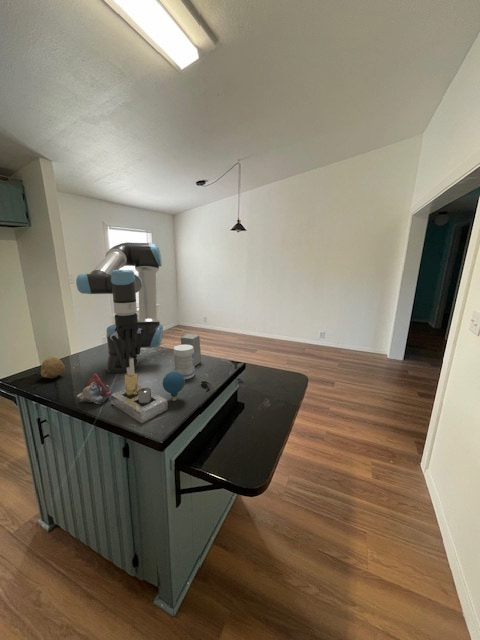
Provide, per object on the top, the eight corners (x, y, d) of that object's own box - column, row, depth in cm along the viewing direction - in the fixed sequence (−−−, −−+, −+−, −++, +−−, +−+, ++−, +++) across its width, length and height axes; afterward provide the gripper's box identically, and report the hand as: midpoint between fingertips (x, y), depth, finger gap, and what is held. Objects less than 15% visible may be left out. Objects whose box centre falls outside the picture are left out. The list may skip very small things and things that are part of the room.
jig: (111, 403, 98) (109, 385, 96) (137, 393, 107) (135, 375, 105) (142, 423, 87) (140, 402, 85) (167, 409, 95) (166, 389, 94)
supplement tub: (197, 377, 122) (197, 348, 119) (178, 382, 117) (177, 352, 114) (189, 370, 130) (189, 343, 127) (171, 374, 125) (170, 346, 122)
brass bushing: (124, 403, 99) (122, 375, 96) (135, 399, 102) (133, 371, 99) (131, 407, 96) (128, 378, 93) (141, 402, 100) (139, 374, 97)
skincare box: (201, 362, 140) (201, 335, 137) (193, 367, 134) (193, 338, 131) (189, 359, 144) (188, 333, 141) (181, 364, 138) (180, 336, 134)
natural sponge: (70, 373, 124) (67, 354, 122) (58, 382, 115) (55, 361, 113) (51, 373, 123) (48, 354, 121) (37, 382, 115) (34, 361, 112)
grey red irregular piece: (121, 389, 105) (104, 374, 96) (105, 414, 98) (84, 401, 90) (101, 384, 109) (83, 369, 100) (84, 408, 103) (63, 395, 94)
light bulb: (172, 393, 107) (171, 366, 104) (189, 397, 104) (188, 370, 101) (159, 403, 99) (157, 374, 97) (176, 408, 96) (175, 378, 94)
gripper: (113, 317, 84) (119, 383, 89) (148, 312, 94) (151, 371, 99) (102, 314, 88) (108, 377, 93) (136, 309, 99) (140, 366, 104)
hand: (130, 374), depth 96 cm, fingers closed
